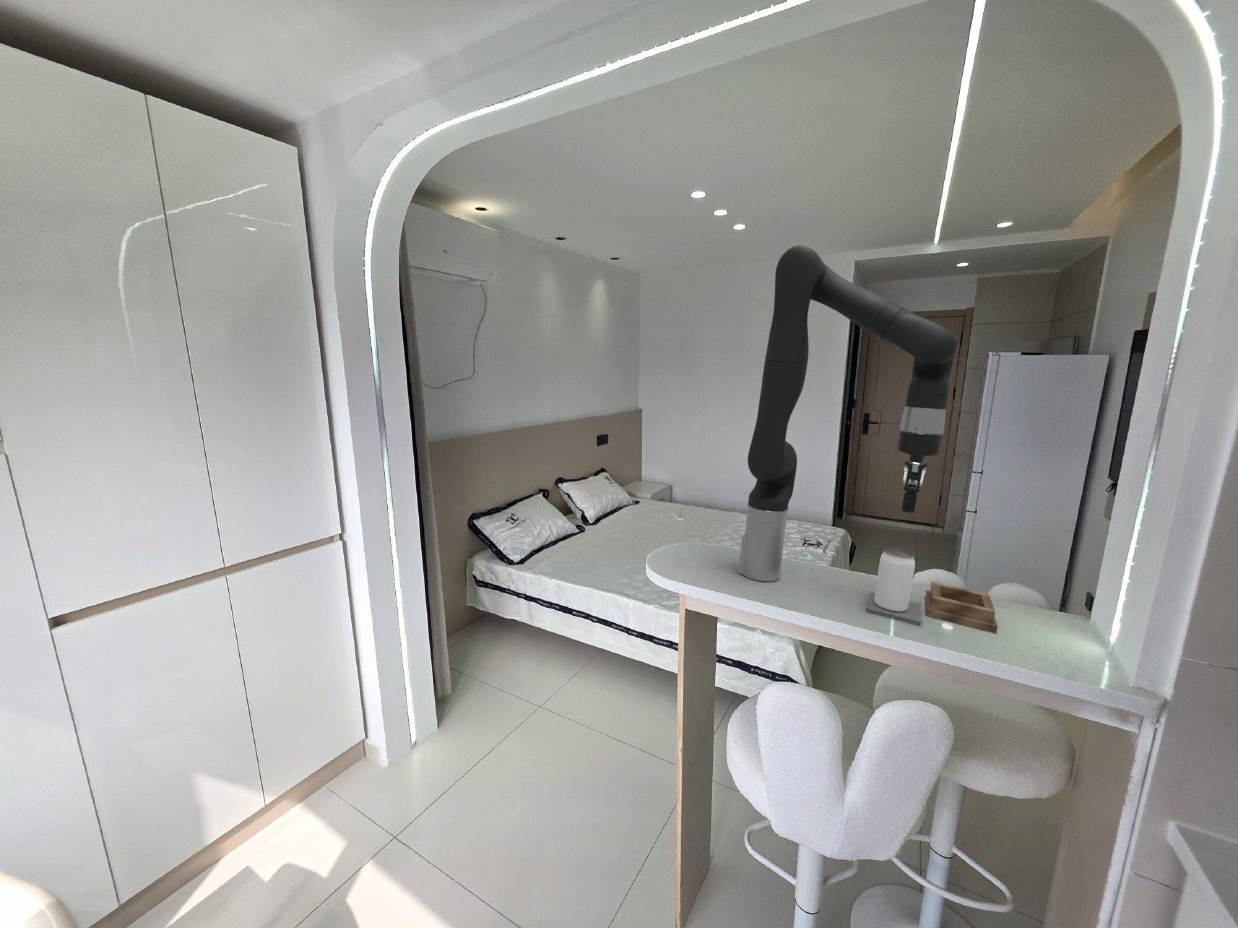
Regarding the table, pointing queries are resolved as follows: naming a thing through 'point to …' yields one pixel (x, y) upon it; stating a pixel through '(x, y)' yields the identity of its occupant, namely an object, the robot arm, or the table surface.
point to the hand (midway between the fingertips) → (908, 507)
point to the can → (894, 580)
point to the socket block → (961, 607)
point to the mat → (909, 615)
